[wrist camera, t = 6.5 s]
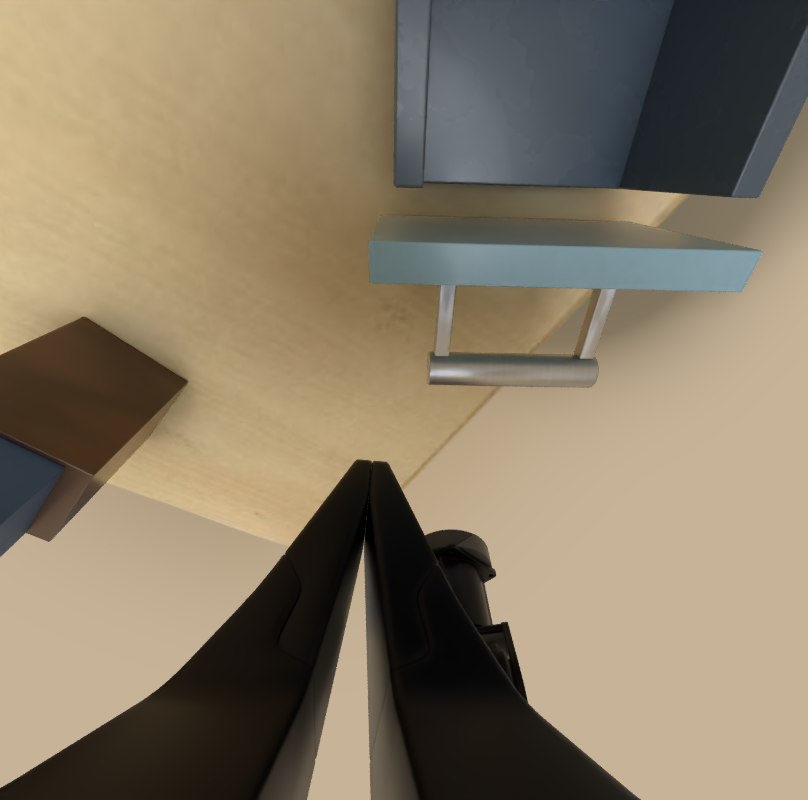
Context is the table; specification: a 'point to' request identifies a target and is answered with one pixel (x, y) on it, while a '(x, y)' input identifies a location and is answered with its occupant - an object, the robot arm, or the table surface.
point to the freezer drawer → (581, 149)
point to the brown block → (80, 410)
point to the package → (22, 489)
